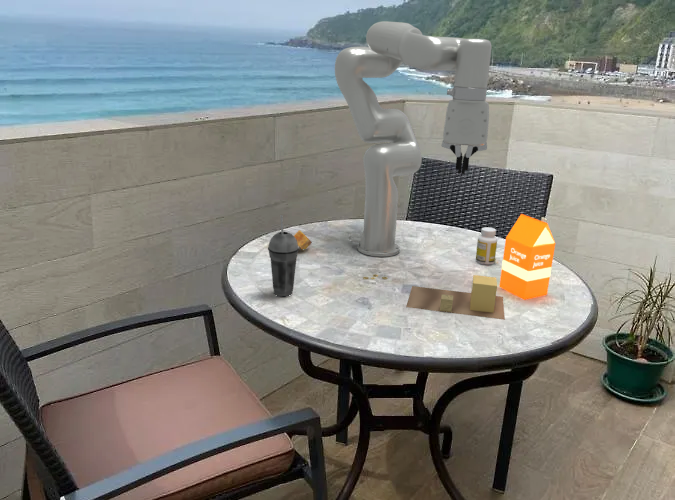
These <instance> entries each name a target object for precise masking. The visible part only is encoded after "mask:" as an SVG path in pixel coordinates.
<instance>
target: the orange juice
mask: <svg viewBox="0 0 675 500" xmlns="http://www.w3.org/2000/svg"><path fill="white" fill-rule="evenodd" d="M504 243H505V244H504V251H503V259H502V263H501V272H500V280H499V288H501V289H503V290H505V291H506V292H508V293H510V294H512V295H514V296H516V297H518V298H520V299H521V300H524V301H525V300H529V299H534V298H539V297H543V296H547V295H548V291H549V285H550V284H549V283H550V278H551V273H552V267H553V261H554V255H555V248H556V242H555V239H554V237H553V234H552V231H551V229H550V226H549V223H548V222H547V223H545V222H543V221H541V220H539V219H537V218H534V217H531V216H529V215H526V214H523V213H520V215H519V216H518V218H517V220H516V222H515V223H514V225H513V226H512V227H511V229H510V231H509V232H508V234H507V235H506V237H505V242H504Z"/></svg>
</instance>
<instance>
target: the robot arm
mask: <svg viewBox="0 0 675 500" xmlns="http://www.w3.org/2000/svg"><path fill="white" fill-rule="evenodd" d="M365 35H366V36H365V39H366V40H365V42H366V44H367V46H351V47H346V48H344V49H342V50H341V51H340V52H339V53H338V54H337V56H336V59H335V63H334V75H335V79H336V80H335V81H336V84H337V86H338V89H339V90H340V93H341V94H342V96H343V97H344V99H345V101H346V104H347V106H348V109H349V112H350V115H351V117H352V120H353V124H354V125H355V128H356V131H357V134H358V136H359V139H360V140H361V141H363V142H364V143H366V144H374V145H371V146H370V147H369V148H367V149H366V151H365V153H364V155H363V159H362V160H363V161H362V162H363V170H364V179H365V181H364V182H365V188H364V190H365V193H364V212H363V213H364V214H363V215H364V216H363V230H362V231H363V232H362V233H359V234H356V233H349V235H348V240H350V242H352V243H353V242H354V243H358V244H357V250H358V252H359V253H362V254H363V255H366V256H371V257H378V258H380V257H381V258H384V257H385V258H386V257H392V256H396V255H398V254H399V253H400V252H401V248H400V246H399V244H397V243H396V234H397V232H396V231H397V219H398V216H397V215H398V205H399V204H398V201H399V190H398V187H397V184H396V183H395V180H394V177H400V176H407V175H408V176H409V175H412V174H415V173H416V172H418V171H419V170H420V168H421V166H422V160H423V159H422V151H421V148H420V145H419V143H418V140H417V138H416V135H415V133H414V130H413V127H412V124H411V122H410V120H409V117H408V116H407V114H406V113H404V112H403V111H402V110H400V109H398V108H383V107H382V106H381V105H380V103H379V100H378V98H377V95H376V93H375V91H374V90H373V89H372V87H371V86H370V85H369V84H368V83H367V82H366V81H365V80H364V79H367V78H369V79H371V78H373V79H377V78H378V79H384V78H387V77H389V76H390V75H393V74H394V72H396V71H397V70H398V69H399V68H400V67H401V65H403V64H404V65H406V66H409V67H413V68H416V69H420V70H423V71H424V70H425V71H435V72H436V71H446V72H448V71H450V72H454V71H455V72H454V82H453V83H454V84H453V87H452V88H447V92H446V95H449V96H451V97H452V99H450V100H449V101H448V104H447V108H446V113H445V119H444V126H443V135H442V142H441V147H442V148H444V149H448V150H451V152H452V153H453V154H454V155H455V157H456V159H455V160H456V162H455V168H454V169H455V170H457V174H458V175H460V174H462V175H465V173H466V171H469V163H470V158H471V157H472V156H473V155H474V154H476V153H477V152H481V151H486V150H487V149H488V144H487V141H488V135H489V134H488V133H489V123H490V122H489V121H490V106H489V105H490V104H489V102H487V101H486V99H487V92H488V81H489V75H490V73H489V72H490V65H491V57H492V42H491V41H490V40H489V39H484V38H463V37H454V36H453V37H451V36H450V37H449V36H434V35H432V36H431V35H424V34H423V32H422V31H421V30H420V29H419V28H417V27H416V26H413V25H412V24H410V23H408V22H401V21H387V20H383V21H378V22H375V23H374V24H372V25H371V26H370V27H369V28H368V29H367V32H366V34H365ZM363 78H364V79H363ZM375 143H376V144H375ZM462 146H466V152H464V155H463V153H462Z"/></svg>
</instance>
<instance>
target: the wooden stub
mask: <svg viewBox="0 0 675 500" xmlns="http://www.w3.org/2000/svg"><path fill="white" fill-rule="evenodd" d="M452 303H453V296H451V295H442V296H441V305H440V311H444V312H443V313H448V312H452ZM440 311H439V312H440Z"/></svg>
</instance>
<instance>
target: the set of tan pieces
mask: <svg viewBox="0 0 675 500" xmlns="http://www.w3.org/2000/svg"><path fill="white" fill-rule="evenodd" d="M378 276H379V275H378V274H376V273H375V274H372V277H370V279H371V280H375V279H376V278H377V277H378ZM362 279H363V280H369V277H368V276H363V277H362ZM381 279H382V280H387V279H388V276H381Z"/></svg>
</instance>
